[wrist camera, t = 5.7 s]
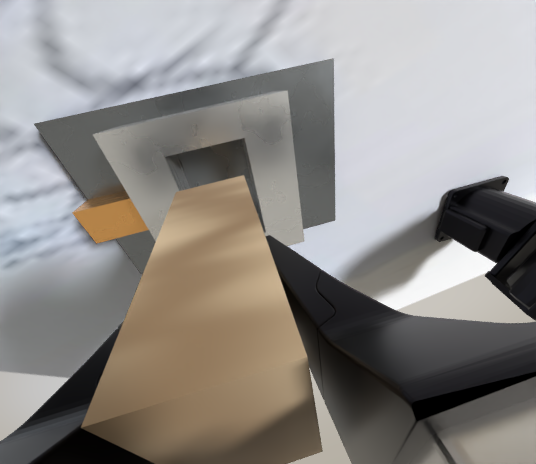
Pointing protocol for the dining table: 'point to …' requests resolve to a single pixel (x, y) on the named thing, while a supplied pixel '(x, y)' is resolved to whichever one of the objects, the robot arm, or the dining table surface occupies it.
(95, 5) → the dining table surface
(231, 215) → the oak wedge
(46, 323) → the dining table surface
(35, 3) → the dining table surface
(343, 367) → the robot arm
